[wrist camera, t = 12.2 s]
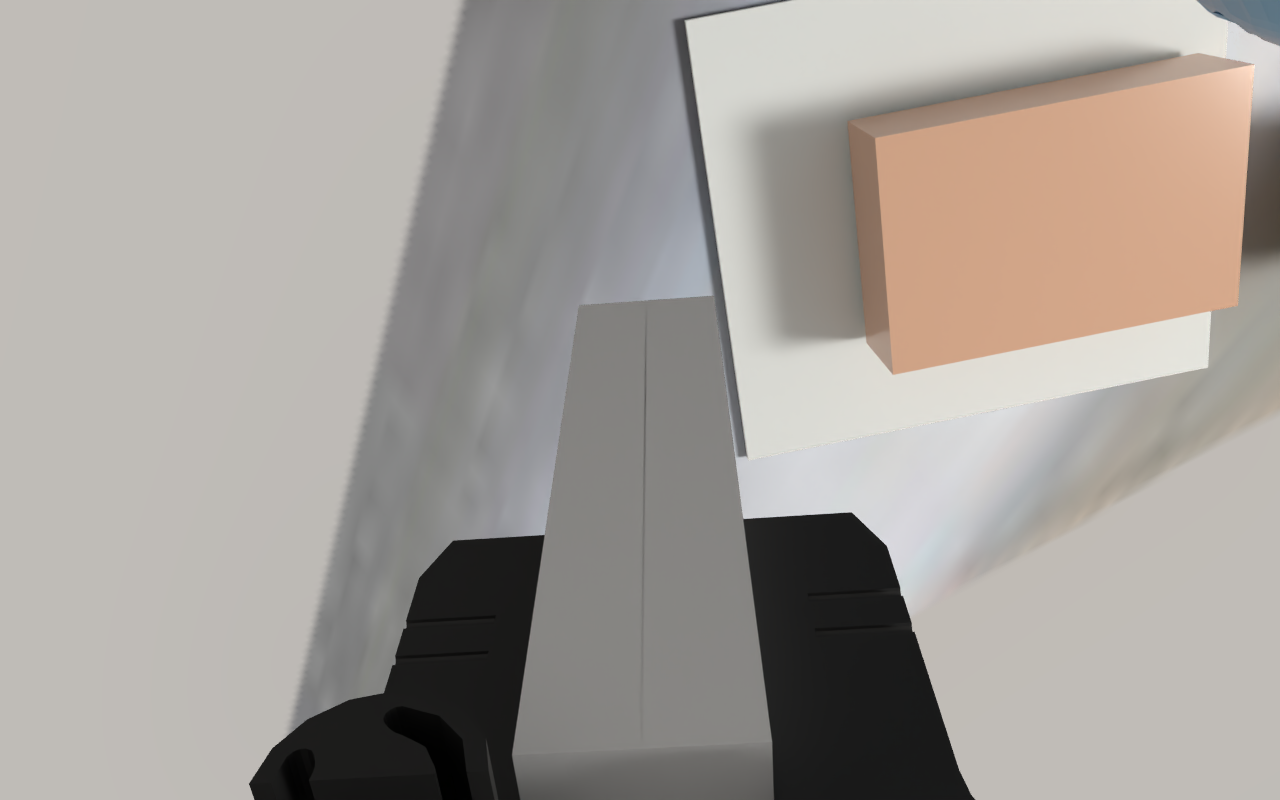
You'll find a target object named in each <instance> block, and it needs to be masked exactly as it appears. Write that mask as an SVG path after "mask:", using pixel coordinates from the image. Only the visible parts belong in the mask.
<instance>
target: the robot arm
mask: <svg viewBox="0 0 1280 800" xmlns="http://www.w3.org/2000/svg"><path fill="white" fill-rule="evenodd" d="M1197 1H1198V2H1199V3H1200V4H1201V5H1202V6H1203V7H1204V8H1205V9H1206V10H1207V11H1208V12H1210V13H1211V14H1213V15H1214V16H1216V17H1218V18H1221V19H1224V20H1227V21H1230V22H1234V23H1236V24H1237V25H1239V26H1240V27H1241V28H1243V29H1244V30H1245V31H1246V32H1248V33H1250V34H1254V35H1257V36H1258V37H1260V38H1261V39H1263V40H1265V41H1268V42H1271V43H1274V44H1276V45H1279V46H1280V0H1197ZM406 622H407V628H406V629H403V633H402V636H401V639H400V643H399V646H398V649H397V652H396V656H395V657H396V664H395V665H392V669H391V672H390V675H389V679H388V682H387V685H386V688H385V692H384V693H383V694H377V695H372V696H367V697H362V698H357V699H351V700H348V701H346V702H344V703H342V704H340V705H337V706H335V707H333V708H331V709H329V710H327V711H325V712H322V713H320V714H318V715H316V716H314V717H312V718H309V719H307V720H306V721H305V722H304V723H303V724H301V725H300V726H299V727H298V728H296V729H295V730H294V731H293V732H292V733H290V734H289V735H288V736H287V737H286V738H284V739H283V740H282V741H281V742H279V743H278V744H277V745H276V746H275V747H273V748H272V750H271V751H270V753H269V755H268V756H267V757H266V759H265V760H264V762H263V763H262V765H261V766H260V768H259V769H258V771H257V773H256V774H255V776H254V777H253V779H252V780H251V782H250V783H249V785H250V788H251V791H252V794H253V796H254V800H975V799H974V798H973V797H972V795H971V794H970V792H969V789H968V787H967V785H966V783H965V781H964V779H963V777H962V775H961V773H960V771H959V768H958V765H957V762H956V759H955V756H954V753H953V750H952V747H951V744H950V741H949V737H948V734H947V731H946V728H945V725H944V722H943V719H942V716H941V713H940V709H939V706H938V703H937V700H936V697H935V694H934V691H933V688H932V685H931V682H930V679H929V675H928V672H927V669H926V666H925V663H924V660H923V657H922V654H921V651H920V648H919V644H918V641H917V638H916V635H915V632H912V623H911V620H910V616H909V613H908V610H907V607H906V604H905V601H904V598H903V596H901V593H900V585H899V582H898V579H897V576H896V573H895V570H894V567H893V564H892V561H891V558H890V554H889V551H888V548H887V546H886V545H885V544H884V543H883V542H882V541H881V540H880V539H879V538H878V537H877V536H876V535H875V534H874V533H873V532H871V531H870V530H869V529H868V528H867V527H866V526H865V525H864V524H863V523H862V522H861V521H860V520H859V519H858V518H857V517H856V516H855V515H854V514H853V513H852V512H851V513H835V514H819V515H802V516H786V517H770V518H753V519H743V515H742V507H741V499H740V492H739V484H738V476H737V469H736V461H735V453H734V446H733V438H732V430H731V423H730V415H729V407H728V400H727V392H726V384H725V377H724V369H723V361H722V353H721V346H720V338H719V330H718V323H717V315H716V307H715V300H714V296H704V297H690V298H676V299H662V300H648V301H634V302H619V303H605V304H591V305H579V308H578V315H577V322H576V329H575V335H574V342H573V349H572V355H571V362H570V369H569V376H568V382H567V389H566V396H565V403H564V409H563V416H562V423H561V429H560V436H559V443H558V450H557V456H556V463H555V470H554V476H553V483H552V490H551V497H550V503H549V510H548V517H547V523H546V530H545V535H539V536H523V537H506V538H490V539H474V540H457V541H453V542H452V543H451V544H450V545H449V546H448V547H447V548H446V549H445V550H444V551H443V552H442V554H441V555H440V556H439V557H438V558H437V559H436V560H435V561H434V562H433V563H432V565H431V566H430V567H429V568H428V569H427V570H426V571H425V572H424V573H423V574H422V576H421V577H420V578H419V580H418V584H417V587H416V590H415V593H414V597H413V600H412V603H411V607H410V610H409V613H408V616H407V620H406Z"/></svg>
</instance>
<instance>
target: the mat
mask: <svg viewBox="0 0 1280 800" xmlns="http://www.w3.org/2000/svg"><path fill="white" fill-rule="evenodd" d="M684 22H685V29H686V36H687V43H688V50H689V57H690V64H691V71H692V78H693V85H694V92H695V99H696V106H697V113H698V119H699V126H700V133H701V140H702V147H703V154H704V161H705V168H706V175H707V182H708V189H709V196H710V203H711V210H712V217H713V224H714V231H715V238H716V245H717V252H718V259H719V266H720V273H721V280H722V287H723V294H724V301H725V308H726V315H727V322H728V329H729V336H730V343H731V350H732V357H733V364H734V370H735V377H736V384H737V391H738V398H739V405H740V412H741V419H742V426H743V433H744V440H745V447H746V454H747V458H748V461H749V460H753V459H758V458H763V457H768V456H773V455H778V454H783V453H788V452H793V451H798V450H803V449H808V448H813V447H818V446H823V445H827V444H832V443H837V442H842V441H847V440H852V439H857V438H862V437H867V436H872V435H877V434H882V433H887V432H892V431H897V430H901V429H906V428H911V427H916V426H921V425H926V424H931V423H936V422H941V421H946V420H951V419H956V418H961V417H966V416H971V415H975V414H980V413H985V412H990V411H995V410H1000V409H1005V408H1010V407H1015V406H1020V405H1025V404H1030V403H1035V402H1040V401H1045V400H1049V399H1054V398H1059V397H1064V396H1069V395H1074V394H1079V393H1084V392H1089V391H1094V390H1099V389H1104V388H1109V387H1114V386H1119V385H1123V384H1128V383H1133V382H1138V381H1143V380H1148V379H1153V378H1158V377H1163V376H1168V375H1173V374H1178V373H1183V372H1188V371H1193V370H1197V369H1202V368H1207V367H1208V356H1209V339H1210V321H1211V311H1209V312H1204V313H1199V314H1194V315H1189V316H1184V317H1179V318H1174V319H1169V320H1164V321H1159V322H1154V323H1149V324H1144V325H1139V326H1134V327H1129V328H1124V329H1119V330H1114V331H1109V332H1104V333H1099V334H1094V335H1089V336H1084V337H1079V338H1074V339H1069V340H1065V341H1060V342H1055V343H1050V344H1045V345H1040V346H1035V347H1030V348H1025V349H1020V350H1015V351H1010V352H1005V353H1000V354H995V355H990V356H985V357H980V358H975V359H970V360H965V361H960V362H955V363H950V364H945V365H940V366H935V367H930V368H925V369H920V370H915V371H910V372H905V373H900V374H895V375H893V374H892V373H891V372H890V371H889V369H888V368H887V367H886V366H885V365H884V363H883V362H882V361H881V360H880V359H879V357H878V356H877V355H876V354H875V353H874V351H873V350H872V349H871V348H870V347H869V345H868V344H867V343H866V332H865V320H864V309H863V297H862V286H861V274H860V262H859V251H858V239H857V228H856V216H855V204H854V193H853V181H852V170H851V158H850V146H849V135H848V123H847V121H850V120H855V119H860V118H865V117H871V116H876V115H881V114H886V113H891V112H896V111H902V110H907V109H912V108H917V107H922V106H927V105H933V104H938V103H943V102H948V101H953V100H958V99H964V98H969V97H974V96H979V95H984V94H989V93H995V92H1000V91H1005V90H1010V89H1015V88H1020V87H1025V86H1031V85H1036V84H1041V83H1046V82H1051V81H1056V80H1062V79H1067V78H1072V77H1077V76H1082V75H1087V74H1093V73H1098V72H1103V71H1108V70H1113V69H1118V68H1124V67H1129V66H1134V65H1139V64H1144V63H1149V62H1155V61H1160V60H1165V59H1170V58H1175V57H1180V56H1186V55H1191V54H1196V53H1201V54H1206V55H1211V56H1216V57H1221V58H1226V48H1227V31H1228V21H1227V20H1224V19H1221V18H1218V17H1216V16H1214V15H1213V14H1211V13H1210V12H1208V11H1207V10H1206V9H1205V8H1204V7H1203V6H1202V5H1201V4H1200V3H1199V2H1198V1H1197V0H787V1H782V2H776V3H771V4H766V5H761V6H755V7H750V8H745V9H740V10H734V11H729V12H724V13H719V14H713V15H708V16H703V17H698V18H692V19H687V20H684Z"/></svg>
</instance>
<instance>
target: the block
mask: <svg viewBox="0 0 1280 800" xmlns="http://www.w3.org/2000/svg"><path fill="white" fill-rule="evenodd" d="M1253 78H1254V64H1250V63H1245V62H1240V61H1235V60H1230V59H1226V58H1221V57H1216V56H1211V55H1206V54H1201V53H1196V54H1191V55H1186V56H1180V57H1175V58H1170V59H1165V60H1160V61H1155V62H1149V63H1144V64H1139V65H1134V66H1129V67H1124V68H1118V69H1113V70H1108V71H1103V72H1098V73H1093V74H1087V75H1082V76H1077V77H1072V78H1067V79H1062V80H1056V81H1051V82H1046V83H1041V84H1036V85H1031V86H1025V87H1020V88H1015V89H1010V90H1005V91H1000V92H995V93H989V94H984V95H979V96H974V97H969V98H964V99H958V100H953V101H948V102H943V103H938V104H933V105H927V106H922V107H917V108H912V109H907V110H902V111H896V112H891V113H886V114H881V115H876V116H871V117H865V118H860V119H855V120H850V121H847V123H848V135H849V146H850V158H851V170H852V181H853V193H854V204H855V216H856V228H857V239H858V251H859V262H860V274H861V286H862V297H863V309H864V320H865V332H866V343H867V344H868V345H869V347H870V348H871V349H872V350H873V351H874V353H875V354H876V355H877V356H878V357H879V359H880V360H881V361H882V362H883V363H884V365H885V366H886V367H887V368H888V369H889V371H890V372H891V373H892V374H893V375H895V374H900V373H905V372H910V371H915V370H920V369H925V368H930V367H935V366H940V365H945V364H950V363H955V362H960V361H965V360H970V359H975V358H980V357H985V356H990V355H995V354H1000V353H1005V352H1010V351H1015V350H1020V349H1025V348H1030V347H1035V346H1040V345H1045V344H1050V343H1055V342H1060V341H1065V340H1069V339H1074V338H1079V337H1084V336H1089V335H1094V334H1099V333H1104V332H1109V331H1114V330H1119V329H1124V328H1129V327H1134V326H1139V325H1144V324H1149V323H1154V322H1159V321H1164V320H1169V319H1174V318H1179V317H1184V316H1189V315H1194V314H1199V313H1204V312H1209V311H1214V310H1219V309H1224V308H1229V307H1234V306H1238V295H1239V280H1240V266H1241V251H1242V237H1243V223H1244V208H1245V194H1246V179H1247V165H1248V151H1249V136H1250V122H1251V107H1252V93H1253Z"/></svg>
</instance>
